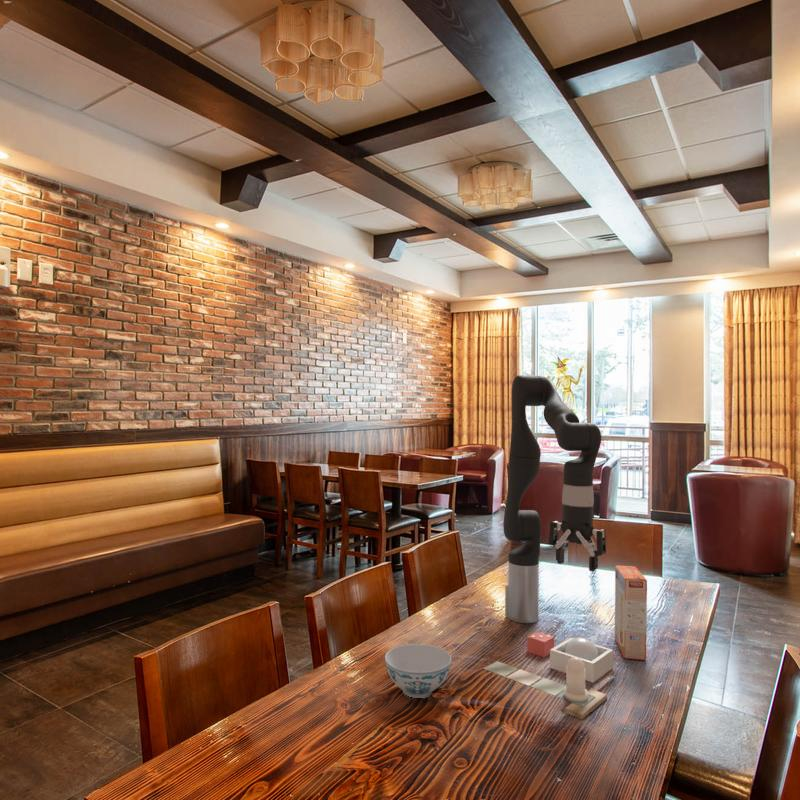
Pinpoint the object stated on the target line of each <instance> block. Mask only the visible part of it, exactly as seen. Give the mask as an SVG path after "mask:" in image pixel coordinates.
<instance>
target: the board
mask: <svg viewBox="0 0 800 800" xmlns="http://www.w3.org/2000/svg"><path fill="white" fill-rule="evenodd" d="M483 670H486V671H488V672H491V673H494V674H496V675H498V676H501V677H504V678H505V677H506V678H507V679H509V680H513V682H514V681H515V682H517V683H520V684H523V685H526V686H527V687H531V688H533V689H535V690H539V691H541V692H543V693H546V694H549V695H552V696H554V697H557V698H559V699H561V700H565V701H567V702H570V703H569V704H567V705H566V706H565V707H563V708H562V709H561V710H560V712H562V711H563V713H564V712H565V713H564V714H566V715H569V714H570V715H569V716H572V717H574V716H575V718H577V717H578V718H577V719H579V718H580V719H579V720H583V719H584V718H586V717H587V716H588V715H589V714H590V712H591V713H592V712H593V711H594V710H595V709H596V708H598V707H599V706H600V705H602V703H604V702H605V701H606V700H607V699H608V698H607V695H608V694H606V693H604V692H601V691H598V690H596V689H592V688H588V689H586V690H587V691H588V700H587V701H585V702H573V701H570V700H568V699H566V698H565V697H564V695H563V689H564V687H565V686H566V684H561V683H560V682H557V681H554V680H551V679H548V678H546V677H543V678H542V676H540V675H537V674H534V673H531V672H529V671H526V670H523V669H519V668H517V667H515V666H512V665H510V664H508V663H504V662H502V661H498V660H497V661H495V662H493V663H491V664H489V665H488V666H485V667H483ZM586 715H587V716H586ZM585 716H586V717H585Z"/></svg>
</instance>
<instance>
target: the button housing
mask: <svg viewBox="0 0 800 800" xmlns="http://www.w3.org/2000/svg"><path fill="white" fill-rule="evenodd" d="M572 639H574V637H570V638H568V639H566V640H564V641H562V642H561V643H559V644H558V645H556V646H554V648H552V649H551V650H550V654H549V668H550V669H553V670H554V671H555V670H556V671H558V672H561V673H564V674H566V666H567V663H568V661H569V659H570V658H572V657H576V656H573V655H570V654H567V653H565V648H566V645H567V644H568V642H569V641H571V640H572ZM593 644H594V645H595V647H596V648H597V650H598V654H599V656H598V657H597V658H595V659H594V660H592V661H589V660H586V659H583V658H580V659H581V660H582V661H583V663H584V667H585V681H586V682H591V683H595V682H596V681H597V683H596V684H594V685H593V686H592V688H596V687H597V686H598V685H599V684H600V683H602V681H604V680H606V678H608V677H609V676H611V675H612V674H613V673H614V671H611V670H612V669H614V649H611V648H608V647H604V646H601V645H598V644H595V643H593ZM578 658H579V657H578ZM609 671H611V672H610V673H609V674H607V673H608V672H609ZM605 674H607V675H606V676H604V675H605ZM603 676H604V677H603ZM601 677H603V678H602V679H601V680H600V681H598V680H599V679H600V678H601Z"/></svg>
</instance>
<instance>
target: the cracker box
mask: <svg viewBox="0 0 800 800" xmlns="http://www.w3.org/2000/svg"><path fill="white" fill-rule="evenodd" d="M614 567H615V568H614V569H615V572H614V573H615V574H614V575H615V576H614V577H615V579H614V581H615V582H614V583H615V584H614V585H615V586H614V587H615V588H614V590H615V591H614V640H615V642H616V644H617V647H618V648H619V649H618V650H619V652H621V655H622V657H623V659H627V660H637V661H638V660H639V661H647V619H648V618H647V616H648V615H647V611H648V610H647V607H648V604H647V601H648V580H647V579H646V578H645V576H644V575H643V574H642V572H640V570H639V569H638V568H637V567H636V566H634V565H633V566H632V565H615V566H614Z"/></svg>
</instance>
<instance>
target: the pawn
mask: <svg viewBox="0 0 800 800" xmlns="http://www.w3.org/2000/svg"><path fill="white" fill-rule="evenodd" d="M565 674H566V675H565V677H566V680H565V682H566V683H565V687H564V689H563V690H562V692H563V695H564V697H565V698H566V699H568V700H570V701H573V702H585V701H587V700H588V691H587V690H588V689H586V680H585V667H584V663H583V661H582V660H581V659H580V658H578V657H572V658H570V659H569V661H568V663H567V666H566V673H565ZM570 701H569V702H570Z"/></svg>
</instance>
